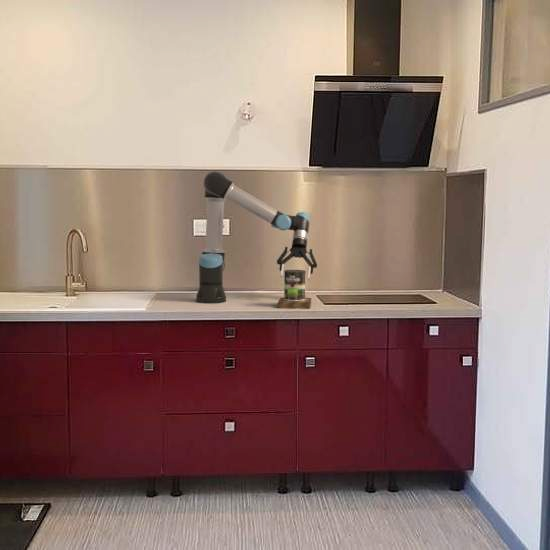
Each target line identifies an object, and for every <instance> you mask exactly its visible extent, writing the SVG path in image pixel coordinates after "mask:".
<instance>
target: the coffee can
mask: <svg viewBox="0 0 550 550" xmlns="http://www.w3.org/2000/svg"><path fill="white" fill-rule="evenodd" d="M306 272H307V270H304V269H285V270H283V277H284V285H283V286H284V290H283V291H284V292H283V294H284V295H283V296H284V300H286V301H304V300H305V298H306Z"/></svg>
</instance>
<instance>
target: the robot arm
mask: <svg viewBox="0 0 550 550" xmlns="http://www.w3.org/2000/svg"><path fill="white" fill-rule="evenodd" d="M203 186H204V199H205V201H206V202H207V203H206V223H205V225H206V226H205V227H206V228H205V248H204V249H202V251H201V252H202V253H201V255H199V257H198V266H199V267H198V271H199V272H198V274H199V275H198V278H199V280H198V281H199V283H198V284H199V286H198V290H197V292H196V296H195V301H196V303H201V302H204V303H205V304H218V303H224V302H225V303H226V302H227V294H226V292H225V289H224V286H223V284H224V282H223V278H224V277H223V276H224V275H223V272H225V268H226V262H225V259H226V258H225V256H226V255H225V254H226V251H225V250H224V248H223V235H224V234H223V233H224V210H225V202H226V201H227V200H228V201H230V202H232V203H233V204H235V205H237V206H239V207H240V208H242V209H243V210H246V211H247V212H249V213H251V214H252V215H255V216H257V217H258V218H259V219H261V220H264V221H265V222H267V223H268V224H270V225H271V226H270V227H272V228H275V229H278V230H280V231H287V230H289V231H293V234H292V241H291V243H292V244H291V247H290V248H289V247H288V246H285V247H284V250H283V252H282V253H281V254H280V256H279V257H278V259H277V260H276V264H277V265H279V271H280V278H282V279H283V277H284V271H285V270H284V269H285V264H286V263H288V262H289V260H291V259H292V258H299V259H301V258H302V259H303V260H304V261H305V262H306V264H307V265H308V274H307V275H308V276H307V280H308V281H310V280H311V275H313V273H314V269H317V268H318V263H317V260H316V259H315V256H314V254H313V249H312V248H310V249H307V246H308V239H309V237H308V236H309V232H310V231H309V230H310V223H311V222H310V221H311V220H310V219H311V218H310V217H311V216H310V214H308V213H307V212H305V211H301V212H297V213H296V214H295V215H289V214H285V213H283V212H281V211H279V210H277V209H276V208H274V207H272V206H271V205H269V204H267V203H266V202H264V201H262V200H260V199H258V198H257V197H255V196H253V195H251V194H250V193H248V192H246V191H245V190H243V189H241V188H239V187H238V186H236V185H235V184H234V182H233V181H232V180H231V179H228V177H227V175H225V174H224V173H223V172H221V171H217V170H216V171H211V172H209V173H207V174H206V175H205V176H204V179H203ZM289 252H290V253H289ZM288 253H289V254H288ZM287 254H288V255H287ZM306 254H308V255H309V257H310V259H309V257H308V256H307V255H306ZM286 255H287V256H286ZM204 303H203V304H204Z"/></svg>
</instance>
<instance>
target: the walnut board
mask: <svg viewBox="0 0 550 550" xmlns="http://www.w3.org/2000/svg"><path fill="white" fill-rule="evenodd" d="M310 306H312V297H305V300H304V301H286V300H284V297H282V296H281V297H280V298H279V300H278V301H277V309H295V308H300V310H301V309H303V310H305V309H306V310H309V309H311V307H310Z"/></svg>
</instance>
